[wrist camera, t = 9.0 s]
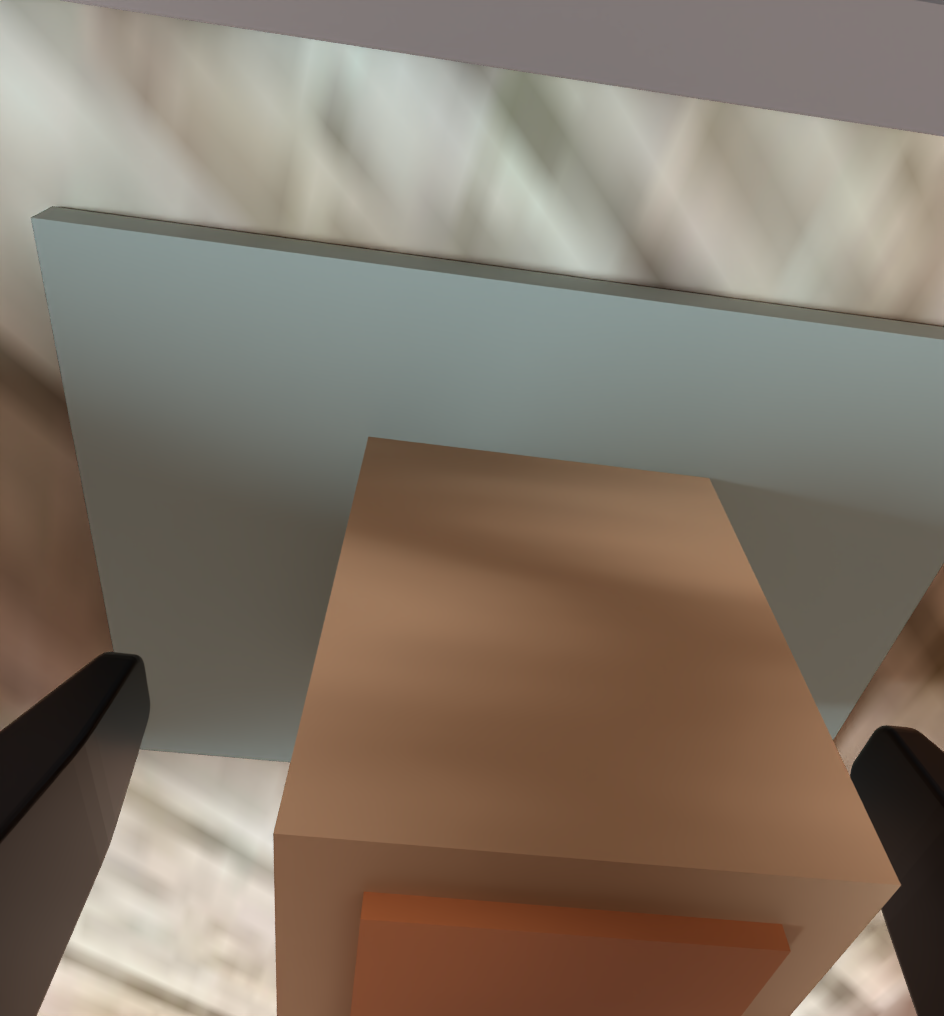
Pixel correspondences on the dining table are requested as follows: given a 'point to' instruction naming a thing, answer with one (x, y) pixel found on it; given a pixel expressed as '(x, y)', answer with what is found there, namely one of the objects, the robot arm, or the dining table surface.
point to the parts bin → (648, 45)
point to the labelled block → (558, 760)
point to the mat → (455, 441)
